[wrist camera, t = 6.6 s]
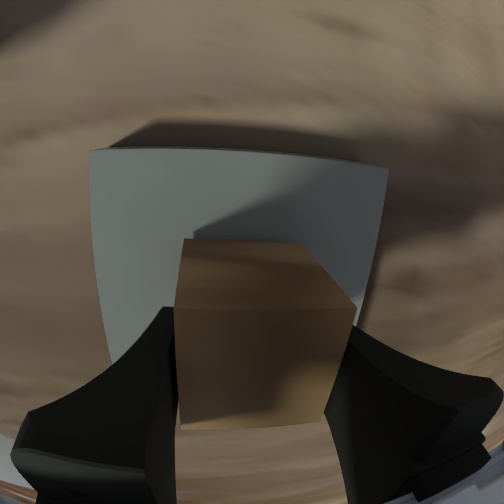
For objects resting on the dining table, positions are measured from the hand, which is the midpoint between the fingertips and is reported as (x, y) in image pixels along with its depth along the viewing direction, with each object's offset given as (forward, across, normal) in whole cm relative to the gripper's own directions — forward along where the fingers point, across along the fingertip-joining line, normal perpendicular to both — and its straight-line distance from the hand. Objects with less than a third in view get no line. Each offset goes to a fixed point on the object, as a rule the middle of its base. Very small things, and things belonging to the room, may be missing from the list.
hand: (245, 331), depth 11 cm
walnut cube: (+2, 0, 0) cm, 2 cm away
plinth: (+5, 0, 0) cm, 5 cm away
